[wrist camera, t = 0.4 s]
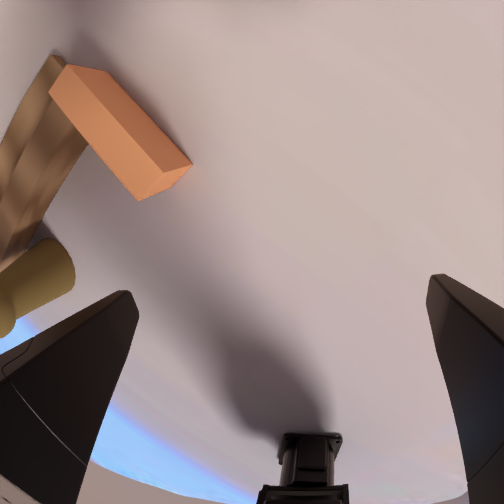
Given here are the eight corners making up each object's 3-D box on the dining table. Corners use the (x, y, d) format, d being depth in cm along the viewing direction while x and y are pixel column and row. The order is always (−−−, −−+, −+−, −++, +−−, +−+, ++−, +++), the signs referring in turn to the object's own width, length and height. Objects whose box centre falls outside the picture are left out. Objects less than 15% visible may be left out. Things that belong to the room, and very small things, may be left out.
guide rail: (63, 314, 30) (36, 338, 25) (-16, 204, 27) (-47, 216, 23) (193, 164, 22) (163, 173, 17) (73, 36, 19) (35, 27, 15)
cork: (68, 238, 26) (-19, 287, 16) (81, 296, 28) (9, 357, 18) (29, 238, 27) (-49, 280, 17) (43, 290, 29) (-25, 341, 19)
